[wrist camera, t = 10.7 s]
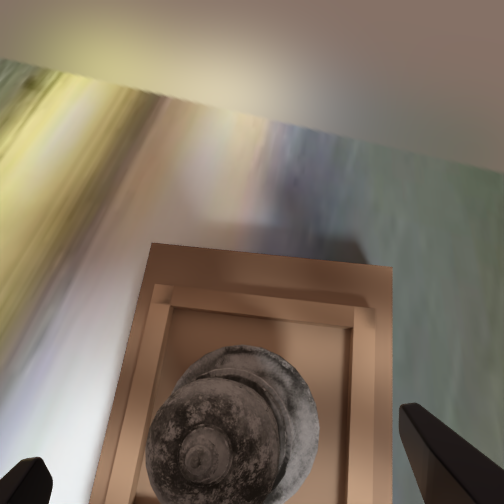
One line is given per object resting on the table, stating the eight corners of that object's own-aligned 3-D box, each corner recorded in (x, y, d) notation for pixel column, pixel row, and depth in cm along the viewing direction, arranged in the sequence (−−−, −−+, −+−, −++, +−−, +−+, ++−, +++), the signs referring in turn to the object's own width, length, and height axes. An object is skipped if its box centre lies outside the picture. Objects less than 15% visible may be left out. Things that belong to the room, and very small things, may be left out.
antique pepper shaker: (249, 328, 19) (211, 230, 8) (338, 422, 17) (457, 473, 6) (158, 416, 18) (-46, 453, 6) (244, 526, 16) (167, 841, 5)
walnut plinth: (372, 626, 17) (398, 688, 13) (97, 571, 18) (53, 614, 15) (377, 283, 22) (396, 262, 19) (166, 260, 24) (147, 237, 20)
